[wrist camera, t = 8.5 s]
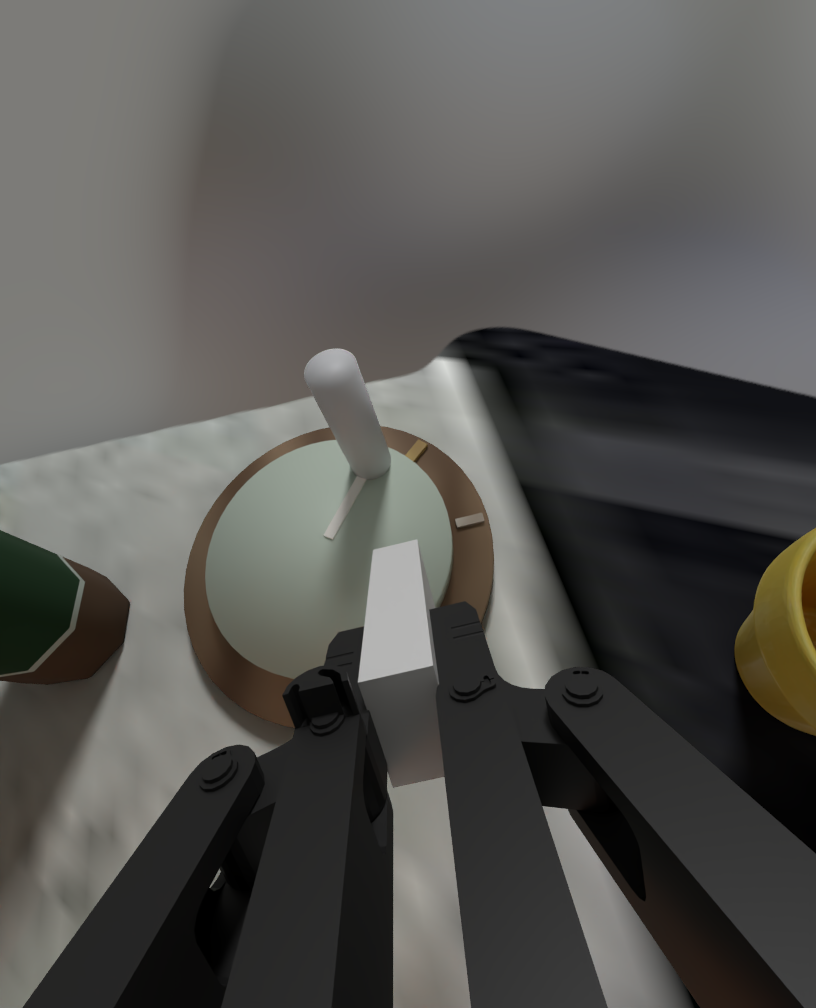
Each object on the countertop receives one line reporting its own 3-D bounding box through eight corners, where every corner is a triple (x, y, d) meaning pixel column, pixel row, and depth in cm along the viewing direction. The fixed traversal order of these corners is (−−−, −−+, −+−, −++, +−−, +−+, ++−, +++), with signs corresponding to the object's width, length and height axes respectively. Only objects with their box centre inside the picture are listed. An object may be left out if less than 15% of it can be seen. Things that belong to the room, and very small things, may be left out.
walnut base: (188, 763, 28) (172, 765, 26) (198, 470, 38) (187, 460, 36) (537, 688, 26) (539, 685, 25) (452, 405, 36) (451, 392, 35)
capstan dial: (384, 733, 26) (322, 728, 16) (172, 617, 31) (31, 563, 21) (490, 491, 31) (489, 383, 22) (295, 427, 36) (226, 319, 27)
